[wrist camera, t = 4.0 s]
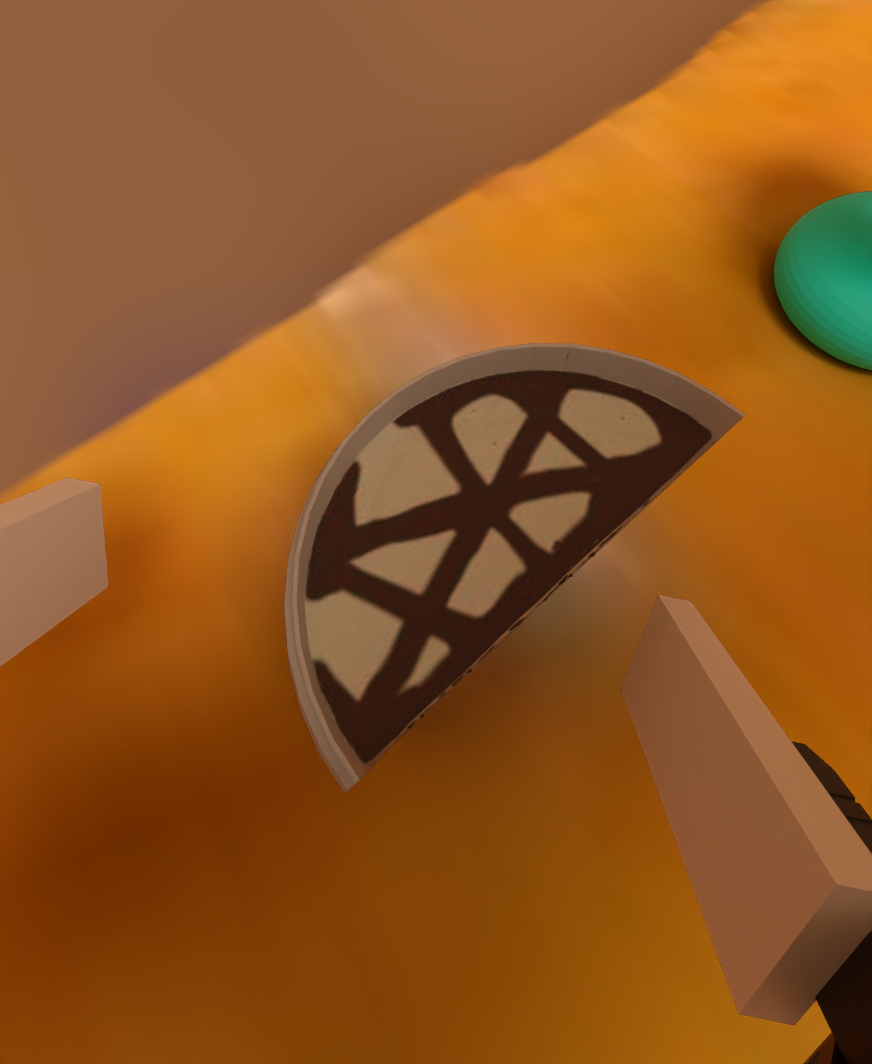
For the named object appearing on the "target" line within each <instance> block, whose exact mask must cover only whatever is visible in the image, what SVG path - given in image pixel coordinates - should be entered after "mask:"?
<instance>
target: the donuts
mask: <svg viewBox="0 0 872 1064" xmlns="http://www.w3.org/2000/svg"><path fill="white" fill-rule="evenodd" d="M774 283H775V288H776V292H777V295H778V298H779V300H780V303H781V305H782V307H783V309H784V311H785V313H786V314H787V316H788V318H789V319H790V320H791V322H792V323H793V324H794V326H795V327H796V328H797V329H798V330H799V331H800V332H801V333H802V334H803V335H804V336H805V337H806V338H807V339H808V340H810V341H811V342H812V343H813V344H814V345H816V346H817V347H819V348H820V349H822V350H823V351H825V352H826V353H828V354H830V355H832V356H833V357H835V358H837V359H839V360H841V361H844V362H846V363H848V364H851V365H854V366H857V367H860V368H864V369H868V370H872V191H867V192H858V193H852V194H847V195H843V196H840V197H837V198H834V199H831V200H829V201H826V202H824V203H822V204H820V205H818V206H817V207H815V208H813V209H812V210H810V211H809V212H807V213H806V214H805V215H804V216H802V217H801V218H800V219H799V220H798V221H797V222H796V223H795V224H794V225H793V226H792V227H791V229H790V230H789V231H788V233H787V234H786V235H785V237H784V239H783V240H782V242H781V245H780V247H779V249H778V252H777V255H776V259H775V265H774Z"/></svg>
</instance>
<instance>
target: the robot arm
mask: <svg viewBox="0 0 872 1064" xmlns="http://www.w3.org/2000/svg"><path fill="white" fill-rule="evenodd" d="M108 586H109V585H108V573H107V561H106V549H105V536H104V524H103V512H102V500H101V487H100V484H98V483H93V482H88V481H83V480H78V479H73V478H65V479H63V480H60V481H58V482H55V483H53V484H50V485H48V486H45V487H43V488H40V489H38V490H36V491H33V492H31V493H28V494H26V495H23V496H21V497H18V498H16V499H13V500H11V501H8V502H6V503H3V504H1V505H0V667H1V666H2V665H3V664H5V663H6V662H7V661H9V660H10V659H11V658H13V657H14V656H15V655H17V654H18V653H19V652H21V651H22V650H23V649H25V648H26V647H28V646H29V645H30V644H32V643H33V642H34V641H36V640H37V639H38V638H40V637H41V636H42V635H44V634H45V633H46V632H48V631H49V630H50V629H52V628H53V627H54V626H56V625H57V624H59V623H60V622H61V621H63V620H64V619H65V618H67V617H68V616H69V615H71V614H72V613H73V612H75V611H76V610H77V609H79V608H80V607H81V606H83V605H84V604H86V603H87V602H88V601H90V600H91V599H92V598H94V597H95V596H96V595H98V594H99V593H100V592H102V591H103V590H104V589H106V588H107V587H108ZM620 689H621V691H622V694H623V697H624V700H625V702H626V705H627V708H628V711H629V713H630V716H631V719H632V722H633V724H634V727H635V730H636V733H637V735H638V738H639V741H640V744H641V746H642V749H643V752H644V755H645V757H646V760H647V763H648V766H649V768H650V771H651V774H652V777H653V779H654V782H655V785H656V788H657V790H658V793H659V796H660V799H661V801H662V804H663V807H664V810H665V812H666V815H667V818H668V821H669V823H670V826H671V829H672V832H673V834H674V837H675V840H676V843H677V845H678V848H679V851H680V854H681V856H682V859H683V862H684V865H685V867H686V870H687V873H688V876H689V878H690V881H691V884H692V887H693V889H694V892H695V895H696V898H697V900H698V903H699V906H700V909H701V911H702V914H703V917H704V920H705V922H706V925H707V928H708V931H709V933H710V936H711V939H712V942H713V944H714V947H715V950H716V953H717V955H718V958H719V961H720V964H721V966H722V969H723V972H724V975H725V977H726V980H727V983H728V986H729V988H730V991H731V994H732V997H733V999H734V1002H735V1005H736V1008H737V1010H738V1013H739V1014H741V1015H746V1016H751V1017H756V1018H761V1019H766V1020H771V1021H776V1022H781V1023H786V1024H791V1025H795V1024H796V1023H797V1022H798V1021H799V1020H800V1018H801V1017H802V1016H803V1015H804V1014H805V1013H806V1011H807V1010H808V1009H809V1008H810V1007H811V1005H812V1004H813V1003H814V1002H815V1001H816V1000H817V1002H818V1004H819V1006H820V1008H821V1010H822V1012H823V1015H824V1017H825V1019H826V1021H827V1023H828V1025H829V1027H830V1029H831V1031H832V1033H831V1034H830V1035H829V1036H828V1037H827V1038H826V1039H825V1040H824V1042H823V1043H822V1044H821V1045H820V1046H819V1047H818V1048H817V1049H816V1050H815V1051H814V1052H813V1054H812V1055H811V1056H810V1057H809V1058H808V1059H807V1060H806V1061H805V1062H804V1063H803V1064H872V819H871V818H870V817H869V815H868V814H867V813H866V811H865V810H864V809H863V807H862V806H861V805H860V804H859V803H855V797H854V796H853V794H852V793H851V792H850V790H849V789H848V788H847V787H846V785H845V784H844V783H843V781H842V780H841V779H840V777H839V776H838V775H837V773H836V772H835V771H834V770H833V769H832V768H831V767H830V766H829V765H828V764H827V763H825V762H824V761H823V760H822V759H821V758H820V757H819V756H817V755H816V754H815V753H814V752H813V751H812V750H811V749H809V748H808V747H807V746H806V745H805V744H802V743H797V742H792V741H791V740H790V739H789V738H788V736H787V735H786V733H785V732H784V731H783V729H782V728H781V726H780V725H779V724H778V722H777V721H776V719H775V718H774V717H773V715H772V714H771V712H770V711H769V710H768V708H767V707H766V705H765V704H764V703H763V701H762V700H761V698H760V697H759V696H758V694H757V693H756V691H755V690H754V689H753V687H752V686H751V684H750V683H749V682H748V680H747V679H746V677H745V676H744V675H743V673H742V672H741V670H740V669H739V668H738V666H737V665H736V663H735V662H734V661H733V659H732V658H731V656H730V655H729V654H728V652H727V651H726V649H725V648H724V647H723V645H722V644H721V642H720V641H719V640H718V638H717V637H716V635H715V634H714V633H713V631H712V630H711V628H710V627H709V626H708V624H707V623H706V621H705V620H704V619H703V617H702V616H701V614H700V613H699V612H698V610H697V609H696V607H695V606H694V605H693V603H692V602H691V601H687V600H682V599H677V598H672V597H667V596H662V595H658V597H657V599H656V602H655V604H654V607H653V609H652V612H651V614H650V617H649V619H648V622H647V624H646V627H645V629H644V632H643V634H642V636H641V639H640V641H639V644H638V646H637V649H636V651H635V654H634V656H633V659H632V661H631V664H630V666H629V669H628V671H627V674H626V676H625V678H624V681H623V683H622V686H621V688H620Z"/></svg>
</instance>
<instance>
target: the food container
mask: <svg viewBox="0 0 872 1064" xmlns="http://www.w3.org/2000/svg"><path fill="white" fill-rule="evenodd" d="M744 416H745V414H743V413H742V412H741V411H739V410H738V409H736V408H735V407H734V406H732V405H731V404H729V403H728V402H727V401H725V400H724V399H723V398H721V397H720V396H718V395H717V394H716V393H714V392H712V391H711V390H709V389H707V388H705V387H703V386H702V385H700V384H698V383H696V382H694V381H693V380H691V379H689V378H687V377H685V376H684V375H682V374H680V373H677V372H675V371H672V370H670V369H668V368H665V367H663V366H660V365H658V364H655V363H653V362H650V361H648V360H646V359H642V358H639V357H635V356H631V355H628V354H624V353H620V352H617V351H613V350H609V349H604V348H597V347H590V346H583V345H576V344H556V343H531V344H522V345H513V346H504V347H497V348H493V349H489V350H485V351H481V352H477V353H473V354H469V355H465V356H462V357H459V358H457V359H454V360H452V361H450V362H447V363H445V364H442V365H440V366H437V367H435V368H433V369H430V370H428V371H426V372H425V373H423V374H421V375H420V376H418V377H416V378H415V379H413V380H411V381H410V382H408V383H406V384H404V385H403V386H401V387H399V388H398V389H396V390H395V391H394V392H393V393H391V394H390V395H389V396H388V397H387V398H385V399H384V400H383V401H382V402H380V403H379V404H378V405H377V406H376V407H374V408H373V409H372V410H371V411H370V412H368V413H367V414H366V415H365V417H364V418H363V419H362V420H361V421H360V422H359V423H358V425H357V426H356V427H355V428H354V429H353V430H352V431H351V432H350V434H349V435H348V436H347V437H346V438H345V439H344V440H343V442H342V443H341V444H340V445H339V446H338V447H337V448H336V450H335V451H334V453H333V454H332V456H331V457H330V459H329V460H328V462H327V464H326V465H325V467H324V468H323V470H322V471H321V473H320V475H319V476H318V478H317V479H316V481H315V482H314V484H313V487H312V489H311V491H310V494H309V496H308V498H307V501H306V503H305V505H304V508H303V510H302V512H301V515H300V517H299V519H298V522H297V526H296V531H295V535H294V539H293V543H292V547H291V551H290V555H289V559H288V565H287V577H286V590H285V603H284V615H285V631H286V641H287V652H288V663H289V669H290V673H291V677H292V681H293V685H294V689H295V693H296V696H297V700H298V704H299V708H300V712H301V714H302V716H303V719H304V721H305V723H306V725H307V728H308V730H309V732H310V735H311V737H312V739H313V741H314V744H315V746H316V748H317V750H318V753H319V755H320V757H321V758H322V760H323V762H324V763H325V765H326V766H327V768H328V769H329V771H330V772H331V774H332V775H333V777H334V779H335V780H336V782H337V783H338V785H339V786H340V788H341V789H342V791H343V793H345V792H347V791H348V790H349V789H350V788H351V787H352V786H353V785H355V784H356V783H357V782H358V781H359V780H360V779H361V778H362V777H363V776H364V775H365V774H366V773H367V772H368V771H369V770H370V769H371V768H372V767H373V766H374V765H375V764H376V763H377V762H378V761H379V760H380V759H381V758H382V757H383V756H384V755H385V753H386V752H387V751H388V750H389V749H390V748H391V747H392V746H393V745H394V744H395V743H396V742H397V741H398V740H399V739H400V738H401V737H402V736H403V735H404V734H405V733H406V732H407V731H408V730H409V729H410V728H411V727H412V726H413V725H414V724H415V723H416V722H417V721H418V720H420V719H421V718H423V717H424V715H425V714H426V713H427V712H428V711H429V710H430V709H431V708H432V707H433V706H434V705H435V704H436V703H438V702H439V701H440V700H441V699H442V698H443V697H444V696H445V695H446V694H447V693H448V692H449V691H450V690H451V689H452V688H453V687H454V686H456V685H457V684H458V683H459V682H460V681H461V680H462V679H463V678H464V677H465V676H466V675H467V674H468V673H470V672H471V671H472V669H474V668H475V667H476V666H477V665H478V664H479V663H480V662H481V661H482V660H483V659H484V658H485V657H486V656H487V655H488V654H489V653H491V652H492V651H493V650H494V649H495V648H496V647H497V646H498V645H499V644H500V643H501V642H502V641H503V640H504V639H505V638H506V637H507V636H509V635H510V634H511V633H512V632H513V631H514V630H515V629H516V628H517V627H518V626H519V625H520V624H521V623H522V622H523V621H524V620H525V619H527V618H528V617H529V616H530V615H531V614H532V613H533V612H534V611H535V610H536V609H537V608H538V607H539V606H540V605H541V604H542V603H543V602H545V601H546V600H547V599H548V598H549V597H550V596H551V595H552V594H553V593H554V592H555V591H556V590H557V589H558V588H559V587H560V586H561V585H563V584H564V583H565V582H566V581H567V580H568V579H569V578H570V577H572V576H573V574H574V573H575V572H576V571H577V570H578V569H580V568H581V567H582V566H583V565H584V564H585V563H586V562H587V561H588V560H589V559H590V558H591V557H593V556H595V554H596V553H597V552H598V551H599V550H600V549H601V548H602V547H603V546H604V545H605V544H607V543H608V542H609V541H610V540H611V539H612V538H613V537H614V536H615V535H616V534H617V533H618V532H620V531H621V530H622V529H623V528H624V527H625V526H626V525H627V524H628V523H629V522H630V521H631V520H633V519H634V518H635V517H636V516H637V515H638V514H639V513H640V512H641V511H642V510H643V509H644V508H645V507H647V506H648V505H649V504H650V503H651V502H652V501H653V500H654V499H655V498H656V497H657V496H658V495H660V494H661V493H662V492H663V491H664V490H665V489H666V488H667V487H668V486H669V485H670V484H671V483H673V482H674V481H675V480H676V479H677V478H678V477H679V476H680V475H681V474H682V473H683V472H684V471H685V470H687V469H688V468H689V467H690V466H691V465H692V464H693V463H694V462H695V461H696V460H697V459H698V458H700V457H701V456H702V455H703V454H704V453H705V452H706V451H707V450H708V449H709V448H710V447H711V446H713V445H714V444H715V443H716V442H717V441H718V440H719V439H720V438H721V437H722V436H723V435H724V434H726V433H727V432H728V431H729V430H730V429H731V428H732V427H733V426H734V425H735V424H736V423H737V422H738V421H740V420H741V419H742V418H743V417H744Z"/></svg>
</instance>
